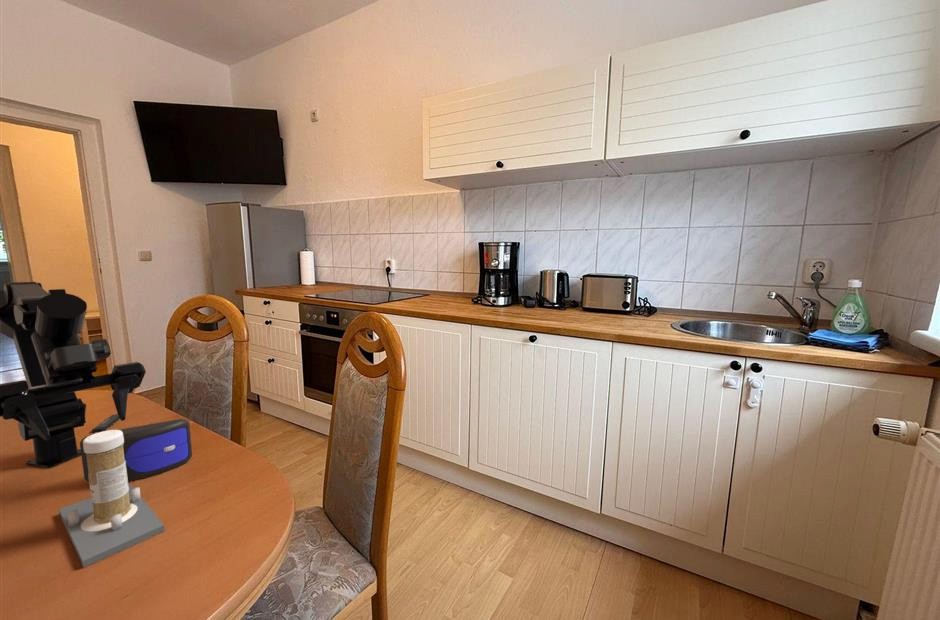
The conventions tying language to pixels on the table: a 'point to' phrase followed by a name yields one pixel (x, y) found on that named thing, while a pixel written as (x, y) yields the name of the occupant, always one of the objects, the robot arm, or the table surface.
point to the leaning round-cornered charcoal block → (152, 448)
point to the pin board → (109, 528)
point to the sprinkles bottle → (107, 474)
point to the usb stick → (106, 423)
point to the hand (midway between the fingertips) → (88, 428)
